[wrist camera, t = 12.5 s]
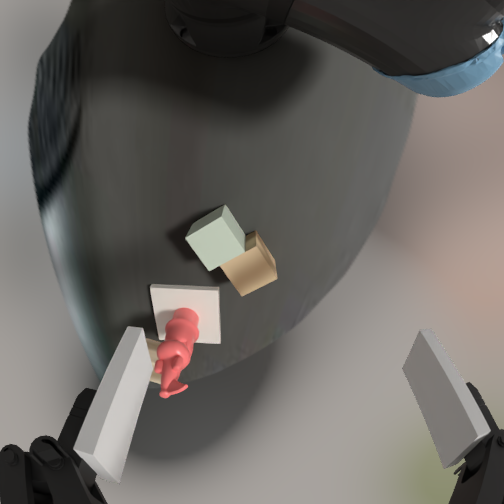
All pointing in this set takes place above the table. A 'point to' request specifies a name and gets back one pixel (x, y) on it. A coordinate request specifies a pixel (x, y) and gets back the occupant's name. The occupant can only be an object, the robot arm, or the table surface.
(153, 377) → the maple block
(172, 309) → the coaster
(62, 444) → the robot arm
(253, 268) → the oak block
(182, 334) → the figurine
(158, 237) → the table surface
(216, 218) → the sage block
